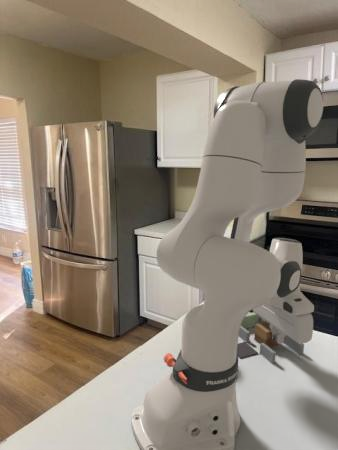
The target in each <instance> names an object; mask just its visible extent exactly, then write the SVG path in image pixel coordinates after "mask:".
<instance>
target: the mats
mask: <svg viewBox="0 0 338 450" xmlns="http://www.w3.org/2000/svg"><path fill="white" fill-rule="evenodd" d="M255 355H259V352H258V351H257V350H256V349H254V347H252V346H251V345H250V344H249V343H248V342H245V341H243V342H238V345H237V356H238V359H243V358H249V357H251V356H255Z"/></svg>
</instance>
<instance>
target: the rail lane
mask: <svg viewBox="0 0 338 450" xmlns="http://www.w3.org/2000/svg"><path fill="white" fill-rule="evenodd" d="M263 322H267V321H265V320H264V319H262V318H261V317H260V316H258V315H257V314H255V313H254V312H253V311H252V312H248V314H247V315H246V316H245V317H244V319H243V321H242V323H241V326H240V330H239V337H238V338H240V339H242V340H243V342H246V343H249V342H250V338H251V337H250V333H251V332H250V331H249V330H247V328H251V327H255V325H256V324H259V323H263ZM282 344H284V345H286V346H287V347H288V348H290V349H291V350H292V351H294V352H295V353H297V354H298V355H300V356H302V355H304V350H305V343H303V344H299V343H297V342H296V341H294V340H293V339H291V338H290V337H289V336H287V335H286V336H285V337H284V341H283V343H282ZM276 353H277V352H276V351H275V350H274V349H272V347H268V346H267V345H266V344H264V343H261V344H260V345H259V354H260V355H261V356H263V358H264V359H266V360H267V361H268V362H270V364H275V363H276V356H277V354H276Z"/></svg>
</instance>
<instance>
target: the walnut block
mask: <svg viewBox="0 0 338 450" xmlns="http://www.w3.org/2000/svg"><path fill="white" fill-rule="evenodd" d="M279 334H280V333H279ZM253 338H254V339H253V340H254V341H255V342H257V343H258V344H261V343H264V344H266V345H267V346H268V347H269V348H273V347H275V346H279V345H280V344H279V343H277V342H276V341H275V340H273V339H272V332H271V329H270V323H268V322H263V323H259V324H256V325H255V326H254V337H253Z"/></svg>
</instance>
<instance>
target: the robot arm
mask: <svg viewBox="0 0 338 450" xmlns="http://www.w3.org/2000/svg"><path fill="white" fill-rule="evenodd" d="M323 96H324V95H323V93H322V90H321V88H320V87H319V85H318V84H317V83H316V82H315V81H312V80H309V79H302V78H301V79H296V78H295V79H293V80H284V81H283V80H278V81H259V82H254V83H250V84H246V85H242V86H236V85H235V86H233V87H230V88H228V89H225V90H223V91H222V92H221V93H220V94H219V96H218V97H217V98H216V99H217V100H216V101H215V103H214V106H213V107H214V108H213V120H212V123H211V126H210V129H209V131H208V135H207V138H206V142H205V146H204V150H203V155H202V162H201V165H200V166H201V167H200V170H199V176H198V181H197V186H196V189H195V193H194V197H193V199H192V202H191V204H190V206H189V208H188V210H187V211H186V213H185V215H184V217H183V218H182V220H181V221H180V222H179V223H178V224H177V225H176V226H175V227H174V228H172V229H171V230H169V231H167V232H166V233H165V234H164V235H163V236H162V237H161V239H160V240H159V242H158V245H157V249H156V261H157V265H158V267H159V268H160V270H161V271H162V272H164V273H165V274H167V275H168V276H169V277H170V278H172V279H173V280H175V281H176V282H179V283H181V284H184V285H187V286H189V287H191V288H194V289H197V290H199V291H202V293H203V295H204V301H203V303H202V304H199V305H196V306H194V307H192V308H191V309H190V310H189V311H187V313H186V314H185V315H184V317H183V319H182V321H181V322H182V323H181V345H180V346H181V349H180V351H179V352H178V355H177V357H176V358H175V357H174V356H173V354H172V353H166V354H165V356H164V357H163V362H164V363H165V364H166V365H167V367H169V368H172V369H171V370H170V371H169V372H167V373H166V374H165V375H164V376H163V377H162V378H161V379H160V380H158V381H157V382H156V383H154V384H153V385H152V386H151V387H150V388H149V389H147V391H146V393H145V395H144V401H143V404H139V406H138V405H137V406H136V407H135V408H134V409H133V411H132V415H131V428H132V433H133V436H134V439H135V440H136V442H137V445H138V446H139V448H140V450H235V448H236V438H235V437H236V436H237V433H238V431H239V429H240V426H241V415H240V411H239V408H238V407H239V406H238V401H237V389H236V381H237V379H238V375H239V357H238V356H237V345H238V343H239V338H240V337H239V330H240V326H241V323H242V321H243V319H244V317H245V316H246V315H247V314H248V313H251V311H252V312H254V313H255V314H257V315H258V316H260V317H261V318H262V319H264V320H265V321H267V322H268V323H270V329H271V332H272V339H273V340H275V341H276V342H277V343H279V345H281V344H284V343H283V341H284V337H285V336H286V335H287V336H289V337H290V338H291V339H293V340H294V341H296V342H297V343H299V344H306V343H309V342H311V340H312V337H313V334H314V318H313V317H314V316H313V315H312V313H313V312H314V311H315V305H314V304H313V303H312V302H311V301H310V300H309V299H308V297H306V296H305V295H304V294H303V292H302V291H301V284H300V283H301V280H302V278H301V277H302V272H303V259H304V258H303V257H304V256H303V246H302V242H300V241H299V240H296V239H292V238H286V237H274V238H272V240H271V244H270V247H269V251H268V249H265V248H263V247H261V246H259V245H257V244H255V243H252V242H250V239H251V233H252V230H253V227H254V226H253V225H254V221H255V220H256V218H257V217H258V216H260V215H262V214H265V213H269V212H270V213H271V212H272V211H273V212H274V211H276V210H281V209H283V208H285V207H288V206H290V205H291V204H293V203H295V202H296V201H297V200H298V198H299V197H300V196H301V194H302V192H303V189H304V183H305V176H306V166H307V165H306V164H307V160H306V159H307V153H306V152H307V151H306V149H307V148H306V139H308V137H310V136H311V135H312V134H313V133H314V132H315V131H316V130H317V128H318V127H319V125H320V123H321V121H322V117H323V111H324V97H323ZM231 222H232V228H231V234H230V237H228V236H225V233H226V230H227V229H228V227H229V225H230V224H231ZM279 333H280V334H279Z"/></svg>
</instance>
